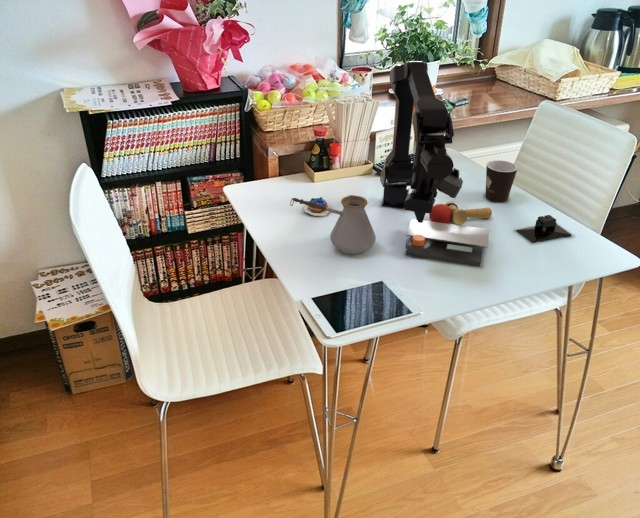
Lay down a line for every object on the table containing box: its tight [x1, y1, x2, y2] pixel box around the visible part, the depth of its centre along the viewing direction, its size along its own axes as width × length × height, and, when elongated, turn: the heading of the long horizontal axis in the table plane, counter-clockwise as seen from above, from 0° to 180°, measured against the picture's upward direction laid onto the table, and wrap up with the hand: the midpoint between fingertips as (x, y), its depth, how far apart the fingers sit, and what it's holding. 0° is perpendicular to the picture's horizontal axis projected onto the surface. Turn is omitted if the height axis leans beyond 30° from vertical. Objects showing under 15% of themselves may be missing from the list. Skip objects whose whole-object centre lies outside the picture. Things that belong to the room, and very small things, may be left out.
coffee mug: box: [484, 159, 519, 203], centre depth 173 cm, size 12×9×10 cm
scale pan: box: [405, 218, 490, 248], centre depth 150 cm, size 20×9×1 cm, turn 73°
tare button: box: [412, 235, 425, 246], centre depth 146 cm, size 3×3×2 cm
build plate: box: [516, 214, 572, 244], centre depth 155 cm, size 12×7×5 cm, turn 109°
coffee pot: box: [289, 194, 377, 255], centre depth 145 cm, size 21×12×15 cm, turn 101°
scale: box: [404, 237, 484, 267], centre depth 149 cm, size 18×15×3 cm
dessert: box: [303, 196, 331, 217], centre depth 167 cm, size 8×7×6 cm
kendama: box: [428, 201, 493, 226], centre depth 161 cm, size 8×6×18 cm
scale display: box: [446, 244, 472, 253], centre depth 144 cm, size 6×2×1 cm, turn 73°
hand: (420, 222), depth 143 cm, fingers closed
